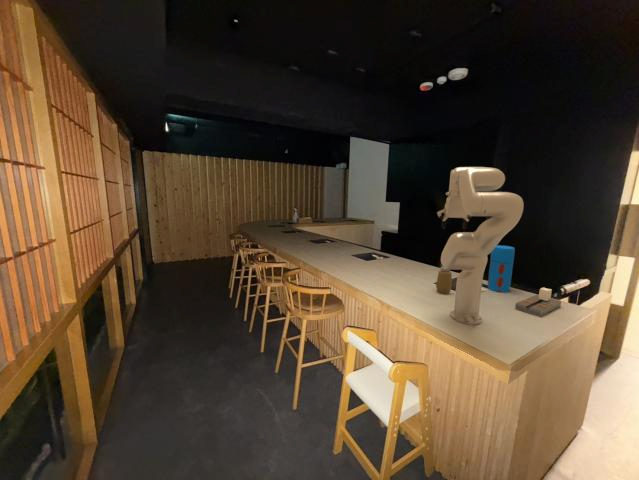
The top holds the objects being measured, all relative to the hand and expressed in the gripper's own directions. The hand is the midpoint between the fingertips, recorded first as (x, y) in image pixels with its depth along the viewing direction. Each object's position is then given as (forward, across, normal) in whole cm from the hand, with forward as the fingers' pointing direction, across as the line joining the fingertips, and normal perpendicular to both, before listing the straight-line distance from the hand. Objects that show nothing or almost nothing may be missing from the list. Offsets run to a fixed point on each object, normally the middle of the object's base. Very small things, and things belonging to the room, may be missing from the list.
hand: (454, 229), depth 136 cm
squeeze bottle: (+37, 0, +8) cm, 38 cm away
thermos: (+37, +33, +18) cm, 53 cm away
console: (+37, +39, -7) cm, 54 cm away
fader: (+34, +44, -3) cm, 56 cm away
